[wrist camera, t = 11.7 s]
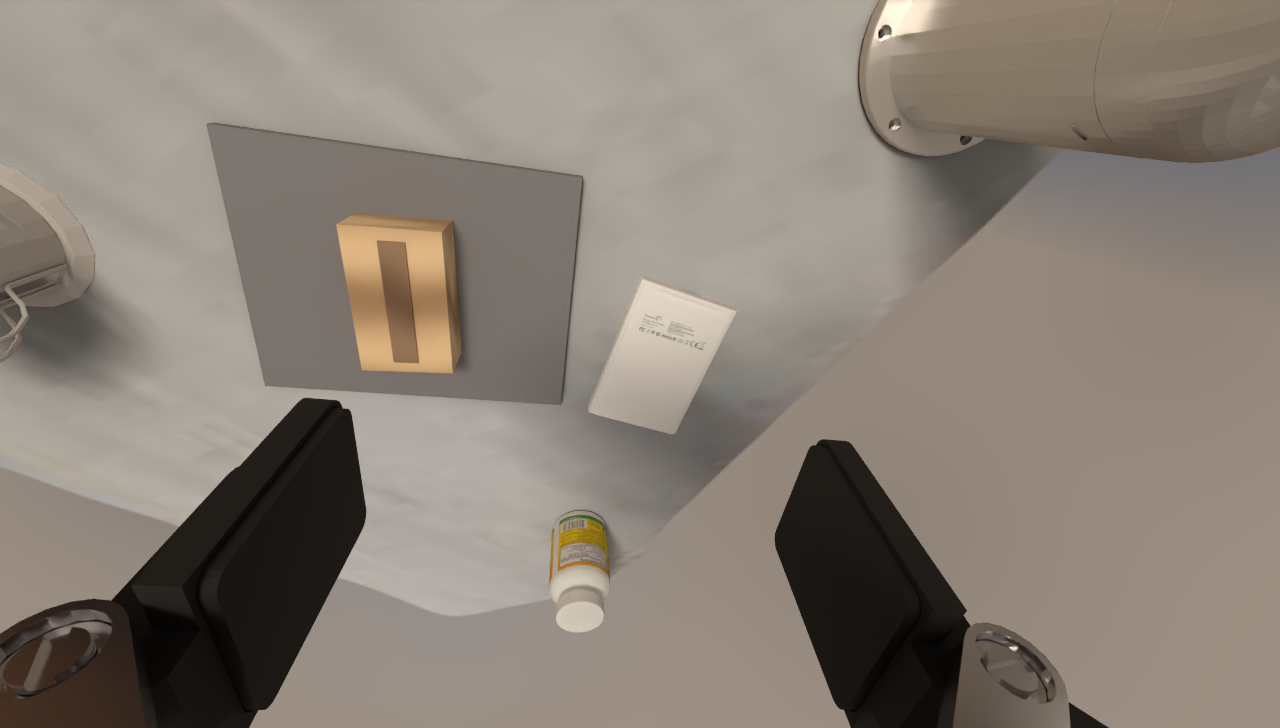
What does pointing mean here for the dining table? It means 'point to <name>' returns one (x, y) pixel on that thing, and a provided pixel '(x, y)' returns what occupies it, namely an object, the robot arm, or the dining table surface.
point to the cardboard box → (402, 291)
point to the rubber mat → (414, 187)
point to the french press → (38, 251)
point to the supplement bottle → (579, 570)
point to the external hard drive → (659, 356)
